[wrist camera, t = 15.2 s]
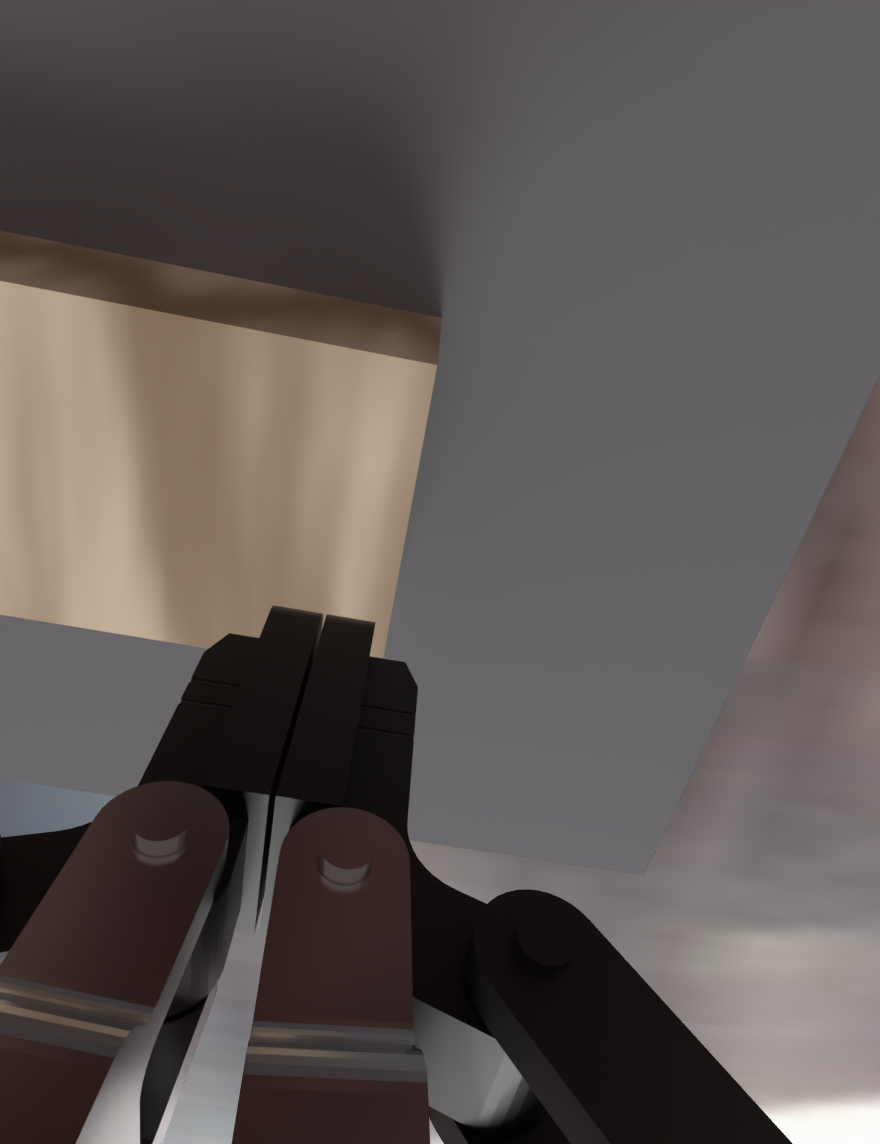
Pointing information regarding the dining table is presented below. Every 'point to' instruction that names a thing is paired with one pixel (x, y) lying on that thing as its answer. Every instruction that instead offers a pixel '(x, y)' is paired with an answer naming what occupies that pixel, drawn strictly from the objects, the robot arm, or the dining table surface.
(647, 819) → the mat
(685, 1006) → the dining table surface
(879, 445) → the dining table surface
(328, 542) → the block
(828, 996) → the dining table surface
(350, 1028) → the robot arm
